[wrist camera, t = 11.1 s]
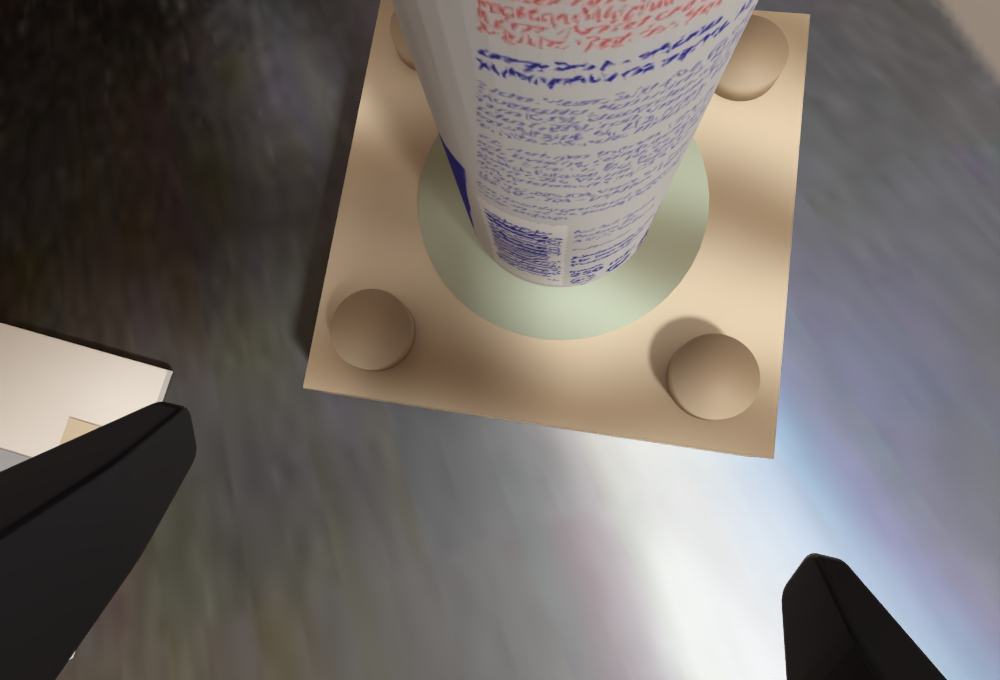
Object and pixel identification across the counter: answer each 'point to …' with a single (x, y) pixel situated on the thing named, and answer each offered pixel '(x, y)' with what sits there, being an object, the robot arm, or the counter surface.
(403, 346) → the base brick
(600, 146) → the beverage can
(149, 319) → the counter surface
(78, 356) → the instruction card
